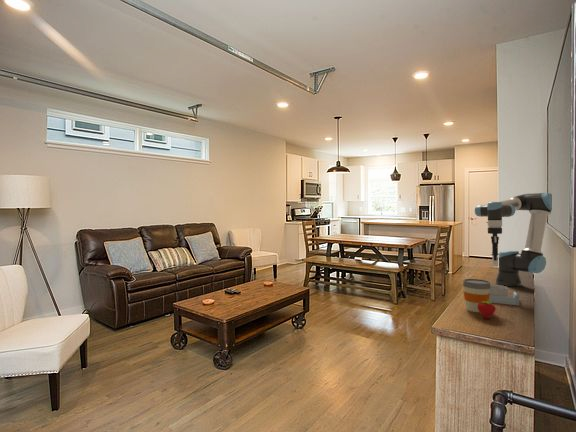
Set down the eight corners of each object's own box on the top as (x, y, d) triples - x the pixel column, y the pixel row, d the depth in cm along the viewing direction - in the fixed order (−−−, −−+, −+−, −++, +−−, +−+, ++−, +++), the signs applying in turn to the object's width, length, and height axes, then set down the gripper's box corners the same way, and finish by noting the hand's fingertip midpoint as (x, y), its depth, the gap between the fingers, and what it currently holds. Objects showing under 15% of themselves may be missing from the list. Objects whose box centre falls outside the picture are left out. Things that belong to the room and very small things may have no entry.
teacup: (512, 303, 185) (512, 288, 185) (491, 302, 186) (491, 288, 186) (498, 296, 199) (498, 283, 199) (479, 296, 200) (479, 283, 200)
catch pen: (475, 294, 204) (475, 286, 204) (516, 298, 194) (516, 289, 194) (475, 300, 190) (475, 291, 190) (519, 305, 180) (519, 296, 180)
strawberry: (478, 315, 163) (478, 295, 163) (496, 318, 159) (496, 297, 159) (476, 318, 159) (476, 297, 159) (494, 322, 154) (494, 300, 154)
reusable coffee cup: (488, 315, 164) (489, 284, 164) (460, 310, 172) (460, 281, 172) (491, 309, 174) (492, 280, 174) (465, 305, 182) (465, 277, 182)
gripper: (487, 226, 211) (487, 263, 211) (488, 227, 199) (488, 266, 200) (501, 226, 207) (501, 264, 208) (502, 227, 196) (503, 267, 196)
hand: (495, 265), depth 204 cm, fingers closed
